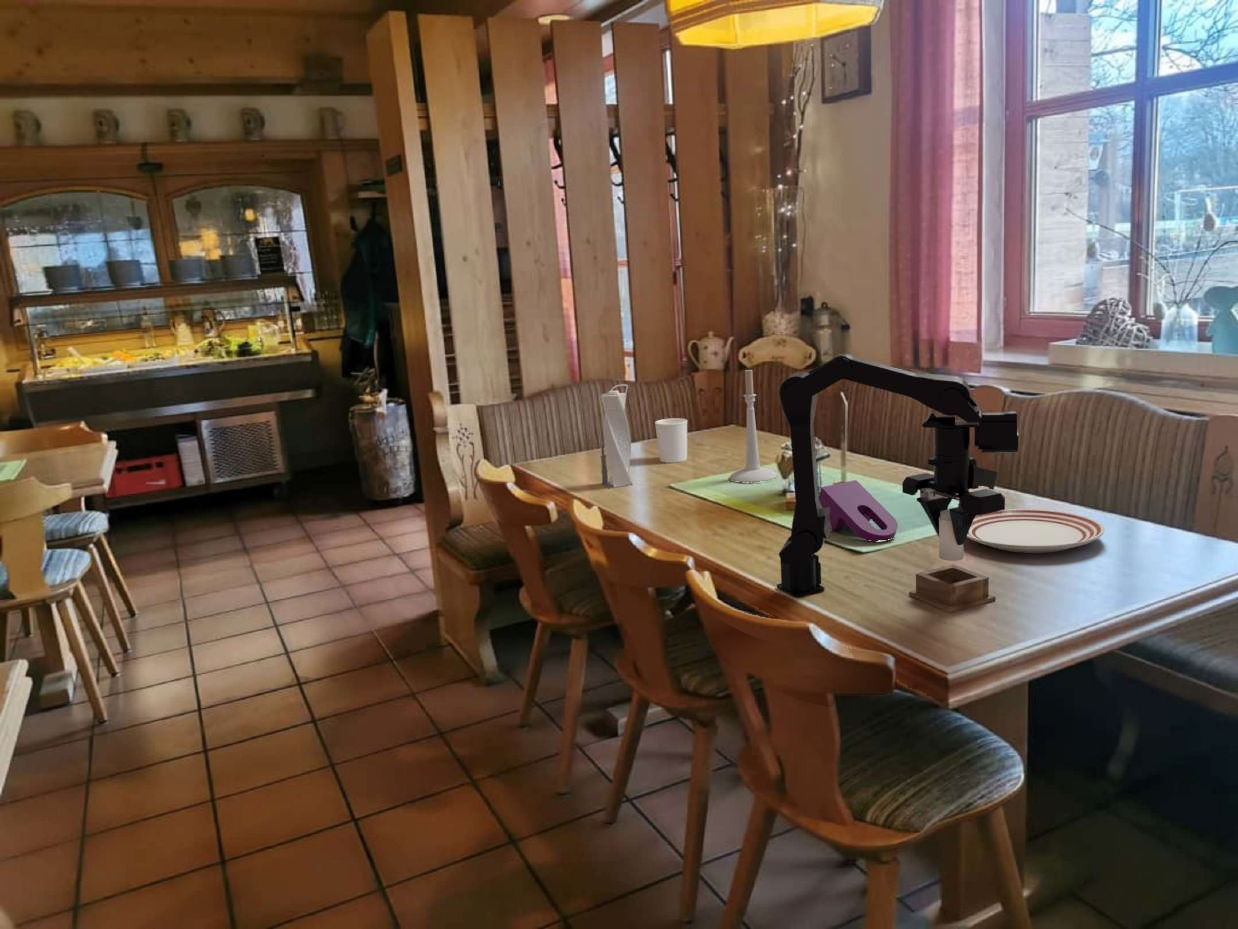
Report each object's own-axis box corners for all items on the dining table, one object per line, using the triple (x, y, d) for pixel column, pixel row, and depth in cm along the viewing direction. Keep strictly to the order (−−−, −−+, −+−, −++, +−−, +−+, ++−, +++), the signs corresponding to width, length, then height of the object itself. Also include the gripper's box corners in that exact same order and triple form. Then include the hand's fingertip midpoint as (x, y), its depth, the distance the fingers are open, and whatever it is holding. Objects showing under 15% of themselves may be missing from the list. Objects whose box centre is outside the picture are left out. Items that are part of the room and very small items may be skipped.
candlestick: (787, 476, 255) (783, 366, 248) (751, 486, 248) (746, 373, 242) (755, 470, 265) (750, 364, 259) (720, 478, 259) (714, 370, 252)
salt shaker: (950, 562, 159) (950, 517, 158) (933, 556, 163) (933, 511, 161) (968, 557, 161) (969, 512, 159) (952, 551, 164) (952, 507, 163)
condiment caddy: (949, 612, 157) (949, 590, 156) (909, 594, 166) (909, 573, 165) (995, 600, 161) (995, 578, 160) (953, 583, 170) (953, 562, 169)
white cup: (690, 462, 281) (688, 422, 278) (657, 464, 281) (655, 425, 279) (688, 455, 291) (686, 417, 288) (657, 457, 291) (654, 419, 288)
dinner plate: (927, 536, 198) (927, 520, 197) (1025, 513, 208) (1025, 498, 207) (1030, 572, 173) (1030, 555, 172) (1136, 544, 183) (1137, 528, 182)
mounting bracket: (895, 560, 201) (846, 509, 214) (906, 530, 197) (856, 479, 209) (859, 569, 198) (812, 516, 211) (870, 539, 193) (821, 487, 206)
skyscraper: (629, 480, 266) (622, 382, 260) (639, 486, 259) (631, 385, 253) (601, 484, 264) (593, 385, 258) (610, 490, 256) (602, 388, 250)
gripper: (1031, 454, 152) (1029, 546, 156) (950, 437, 169) (949, 520, 173) (978, 465, 148) (977, 559, 152) (900, 446, 165) (900, 531, 169)
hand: (951, 541), depth 161 cm, fingers closed on salt shaker, 4 cm apart
